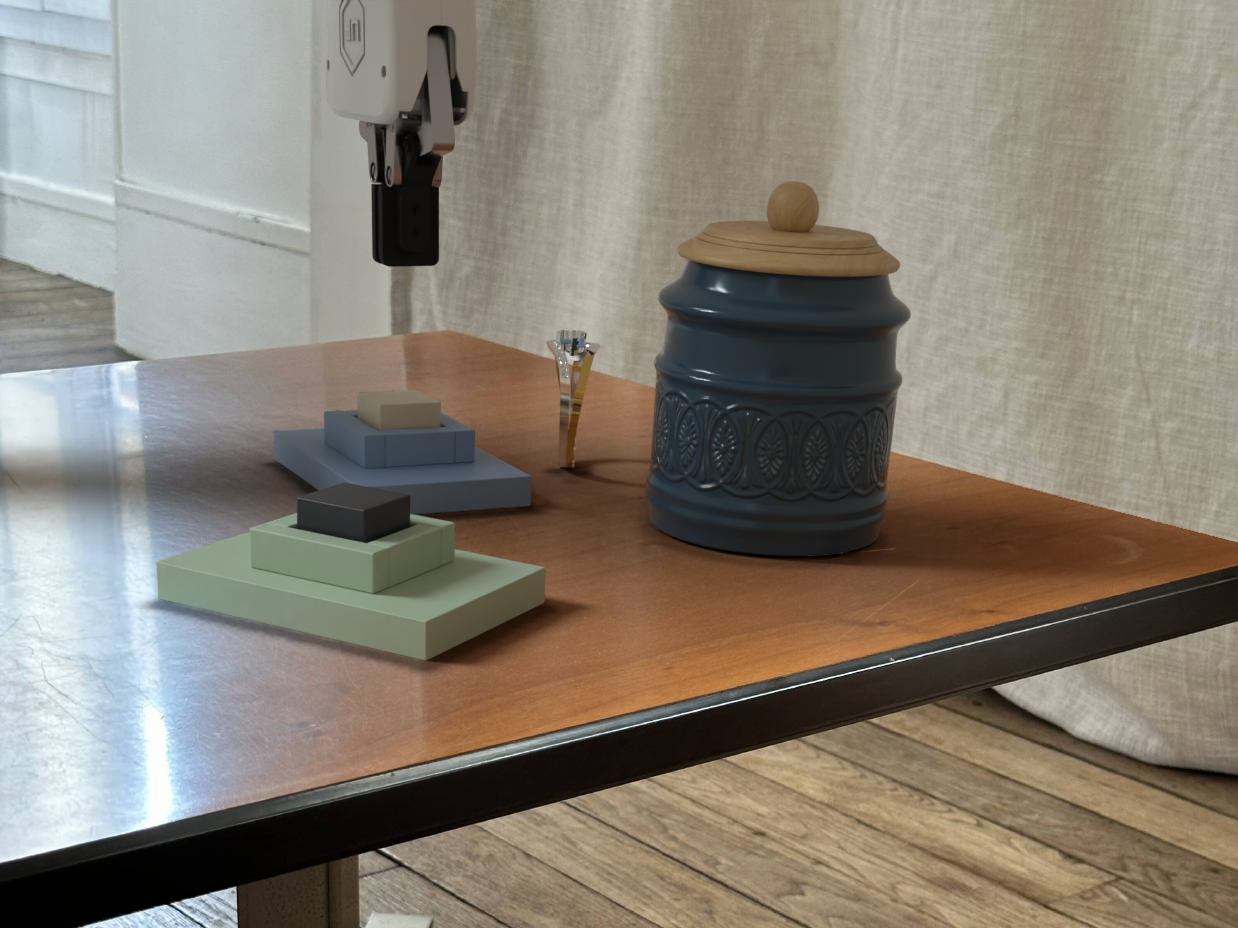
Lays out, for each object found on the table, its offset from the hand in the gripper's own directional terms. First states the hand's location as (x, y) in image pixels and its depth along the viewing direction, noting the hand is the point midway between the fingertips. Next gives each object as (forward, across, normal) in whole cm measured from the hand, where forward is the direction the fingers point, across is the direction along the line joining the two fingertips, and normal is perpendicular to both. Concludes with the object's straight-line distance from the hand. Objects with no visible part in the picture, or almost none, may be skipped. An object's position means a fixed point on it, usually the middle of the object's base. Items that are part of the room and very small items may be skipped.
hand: (405, 263), depth 94 cm
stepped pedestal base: (+12, +20, -10) cm, 25 cm away
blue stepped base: (+12, -1, 0) cm, 12 cm away
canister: (+12, +14, +15) cm, 24 cm away
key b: (+9, -1, 0) cm, 9 cm away
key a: (+9, +20, -10) cm, 24 cm away
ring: (+12, -2, +11) cm, 16 cm away
